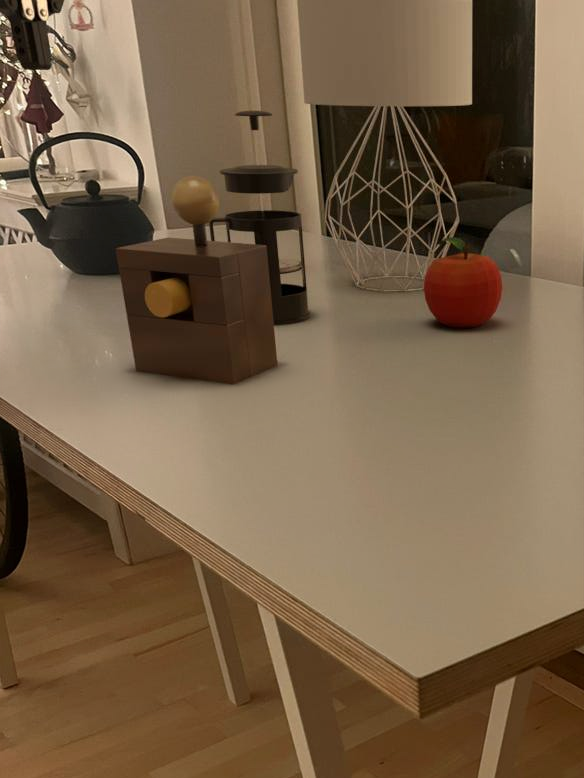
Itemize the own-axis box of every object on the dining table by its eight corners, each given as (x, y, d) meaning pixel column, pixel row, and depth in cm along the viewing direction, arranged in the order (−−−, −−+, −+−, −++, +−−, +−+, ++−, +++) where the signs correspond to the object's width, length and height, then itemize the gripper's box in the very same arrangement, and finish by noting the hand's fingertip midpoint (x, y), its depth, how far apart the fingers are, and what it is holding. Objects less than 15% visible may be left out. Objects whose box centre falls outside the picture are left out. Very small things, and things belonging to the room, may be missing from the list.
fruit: (475, 337, 116) (475, 246, 111) (409, 326, 121) (407, 239, 116) (516, 322, 123) (519, 236, 118) (453, 313, 128) (453, 230, 123)
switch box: (233, 385, 98) (210, 184, 89) (135, 372, 102) (103, 178, 93) (277, 366, 104) (260, 176, 95) (184, 354, 108) (158, 171, 99)
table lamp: (325, 270, 153) (304, -41, 133) (469, 270, 154) (469, -39, 134) (309, 299, 134) (282, -60, 114) (474, 299, 135) (475, -57, 115)
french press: (309, 307, 130) (294, 109, 118) (321, 323, 122) (306, 112, 110) (217, 312, 126) (193, 109, 115) (224, 329, 119) (198, 112, 107)
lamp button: (174, 319, 94) (169, 284, 93) (147, 316, 95) (141, 281, 94) (193, 313, 97) (189, 278, 95) (167, 310, 98) (162, 276, 96)
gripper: (17, -156, 88) (57, 69, 96) (-112, -188, 77) (-54, 69, 86) (84, -162, 85) (119, 70, 94) (-40, -195, 75) (12, 70, 83)
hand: (36, 69), depth 90 cm, fingers closed
